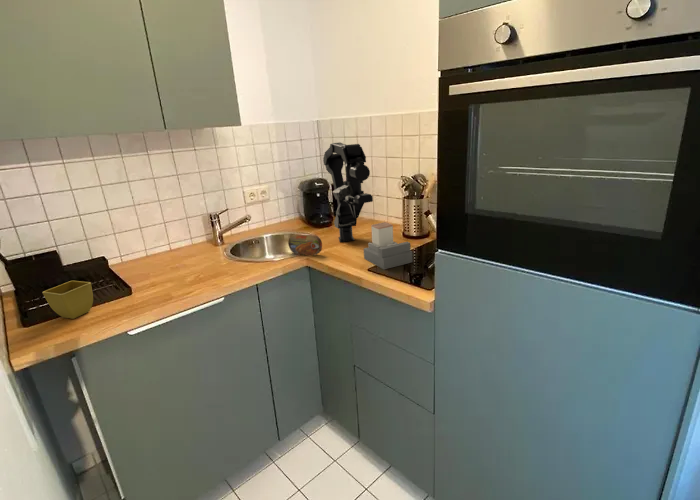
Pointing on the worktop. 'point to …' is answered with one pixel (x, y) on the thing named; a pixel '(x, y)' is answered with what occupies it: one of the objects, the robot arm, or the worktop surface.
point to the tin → (305, 244)
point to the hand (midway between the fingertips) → (355, 217)
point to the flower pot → (70, 298)
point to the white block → (382, 234)
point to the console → (389, 254)
